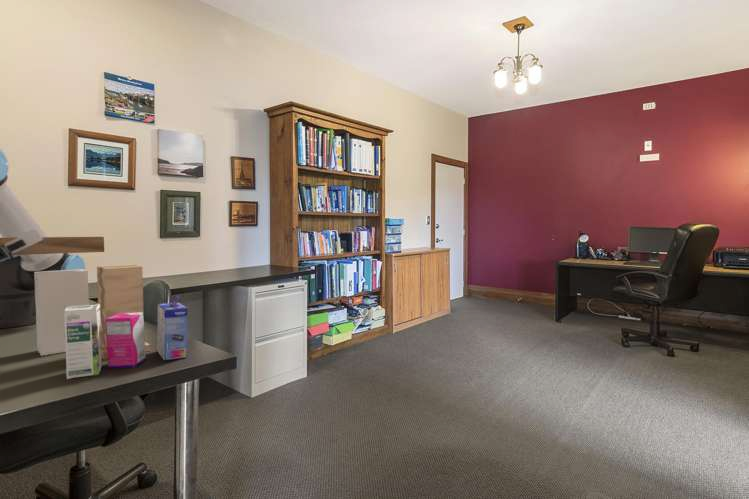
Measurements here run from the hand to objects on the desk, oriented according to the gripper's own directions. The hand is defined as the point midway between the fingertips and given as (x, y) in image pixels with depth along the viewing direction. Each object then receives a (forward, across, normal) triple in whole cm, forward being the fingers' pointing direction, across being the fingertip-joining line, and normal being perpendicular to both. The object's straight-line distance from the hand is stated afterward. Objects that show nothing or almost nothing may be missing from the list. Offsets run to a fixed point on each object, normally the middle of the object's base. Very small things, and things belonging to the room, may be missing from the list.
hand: (37, 234), depth 100 cm
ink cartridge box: (+5, -24, +37) cm, 44 cm away
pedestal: (-11, 0, +28) cm, 30 cm away
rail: (0, 0, +5) cm, 5 cm away
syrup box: (-11, -24, +28) cm, 38 cm away
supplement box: (-4, -24, +32) cm, 40 cm away
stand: (-2, -12, +33) cm, 35 cm away
